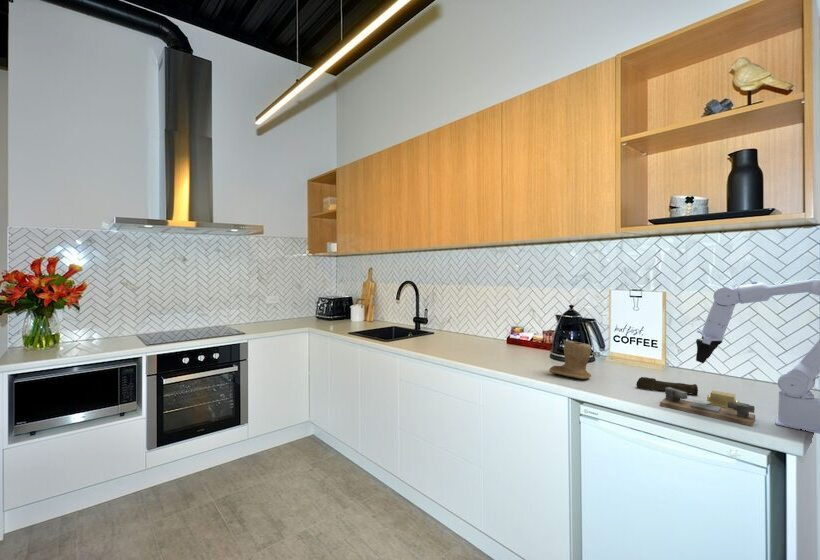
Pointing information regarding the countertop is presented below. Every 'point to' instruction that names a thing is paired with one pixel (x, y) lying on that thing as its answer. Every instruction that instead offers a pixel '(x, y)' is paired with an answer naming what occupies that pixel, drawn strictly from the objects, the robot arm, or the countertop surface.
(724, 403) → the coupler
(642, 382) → the hand tool
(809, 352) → the robot arm
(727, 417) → the shaft stand
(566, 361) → the brown flared stand
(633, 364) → the countertop surface
